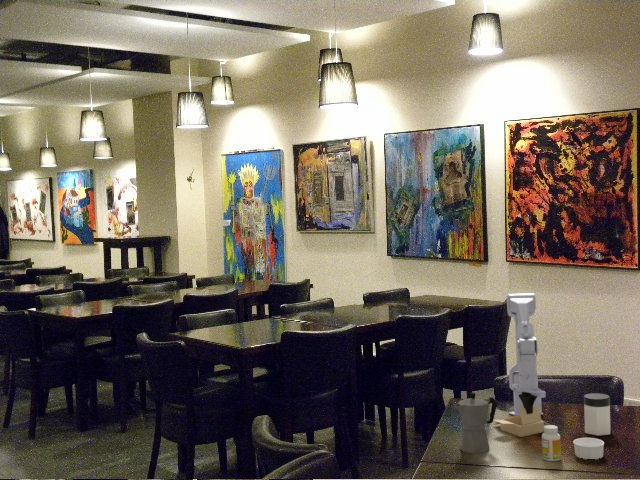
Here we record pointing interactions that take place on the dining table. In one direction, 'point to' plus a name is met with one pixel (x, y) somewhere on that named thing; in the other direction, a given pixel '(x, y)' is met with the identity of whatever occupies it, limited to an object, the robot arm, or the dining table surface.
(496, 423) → the flap
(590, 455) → the ramekin
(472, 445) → the coffeepot
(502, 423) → the flap
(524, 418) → the flap
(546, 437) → the supplement bottle
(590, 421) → the jar
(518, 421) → the carton
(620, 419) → the dining table surface
